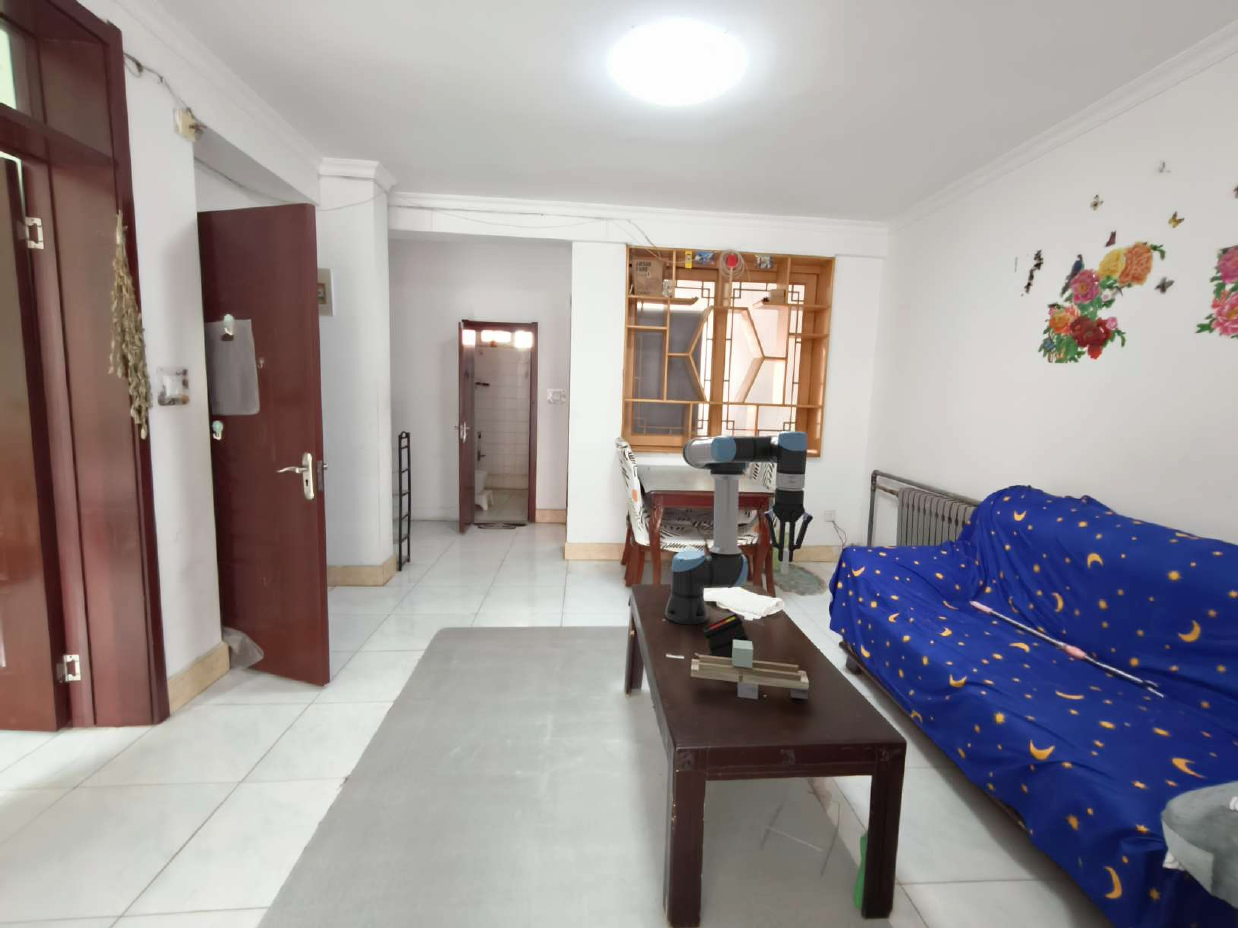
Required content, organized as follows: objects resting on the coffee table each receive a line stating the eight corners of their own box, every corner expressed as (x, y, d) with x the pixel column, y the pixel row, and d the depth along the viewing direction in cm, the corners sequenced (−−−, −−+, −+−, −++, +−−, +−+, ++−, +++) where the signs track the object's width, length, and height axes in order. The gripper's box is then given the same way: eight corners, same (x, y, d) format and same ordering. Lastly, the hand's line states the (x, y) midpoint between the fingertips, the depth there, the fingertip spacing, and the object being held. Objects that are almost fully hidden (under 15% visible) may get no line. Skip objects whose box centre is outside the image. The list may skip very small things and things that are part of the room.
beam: (691, 679, 151) (692, 653, 150) (803, 692, 145) (805, 665, 144) (689, 690, 144) (691, 663, 143) (807, 705, 139) (809, 676, 138)
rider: (731, 664, 147) (733, 639, 147) (750, 666, 146) (752, 641, 146) (732, 672, 142) (733, 647, 142) (751, 675, 142) (753, 649, 141)
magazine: (759, 661, 158) (740, 617, 156) (718, 680, 158) (698, 635, 156) (756, 656, 162) (736, 612, 160) (715, 673, 162) (696, 630, 160)
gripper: (766, 489, 144) (761, 575, 147) (817, 491, 142) (811, 579, 145) (763, 485, 152) (759, 566, 154) (812, 487, 149) (806, 570, 152)
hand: (784, 572), depth 150 cm, fingers closed
